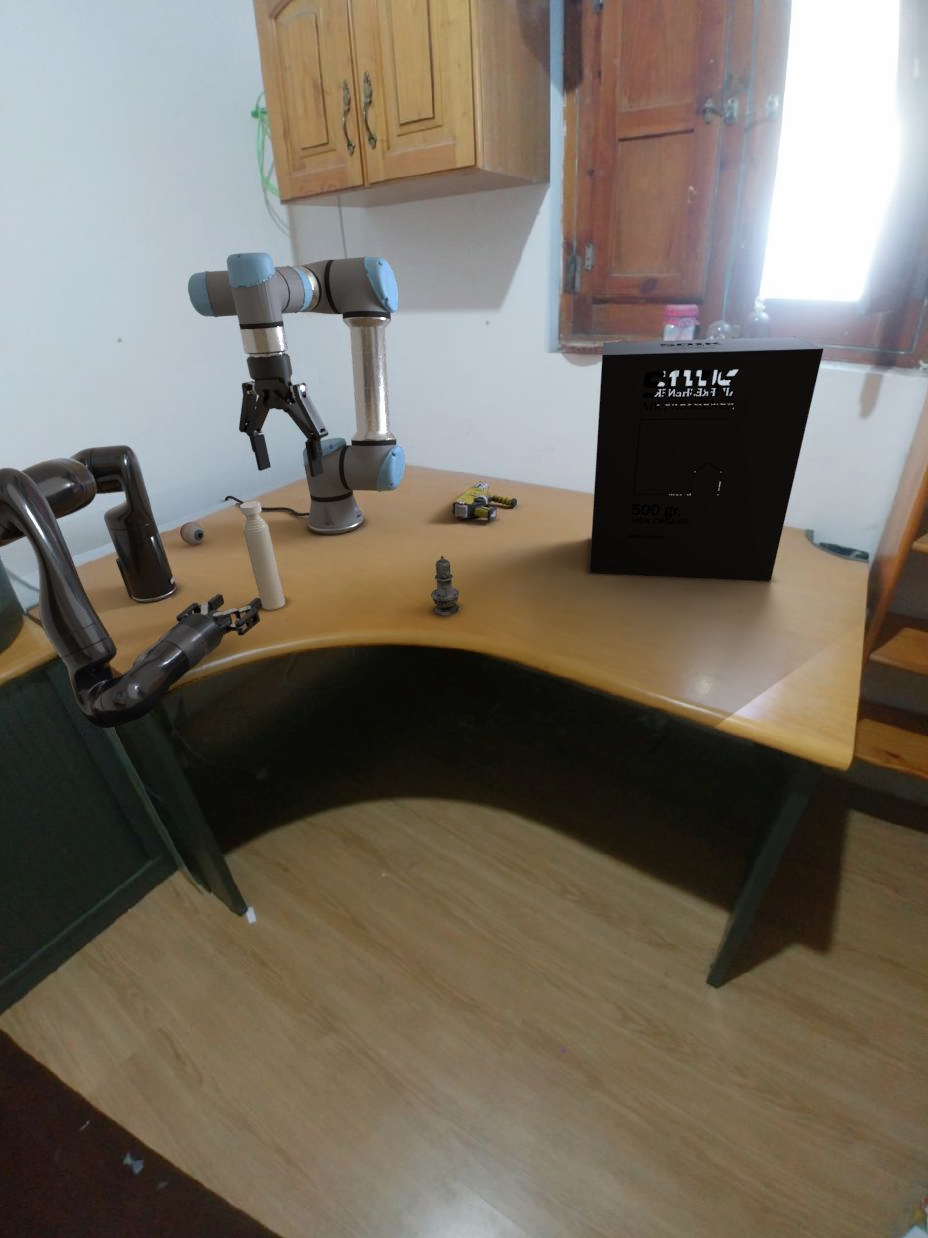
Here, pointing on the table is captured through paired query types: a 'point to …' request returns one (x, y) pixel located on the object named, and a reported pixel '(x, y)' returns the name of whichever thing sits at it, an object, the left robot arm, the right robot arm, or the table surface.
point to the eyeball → (192, 533)
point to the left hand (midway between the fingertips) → (240, 600)
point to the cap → (250, 508)
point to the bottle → (263, 562)
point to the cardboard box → (698, 455)
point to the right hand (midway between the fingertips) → (290, 472)
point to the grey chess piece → (444, 590)
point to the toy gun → (479, 503)
